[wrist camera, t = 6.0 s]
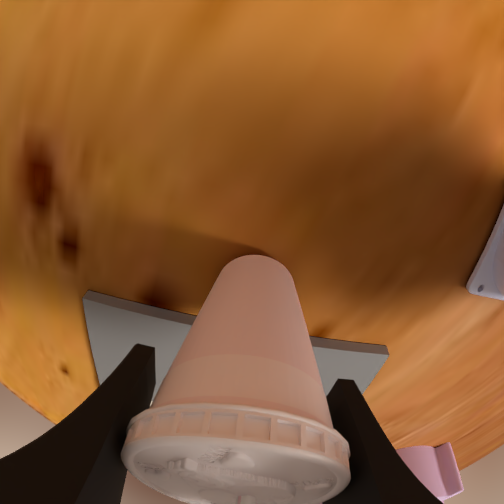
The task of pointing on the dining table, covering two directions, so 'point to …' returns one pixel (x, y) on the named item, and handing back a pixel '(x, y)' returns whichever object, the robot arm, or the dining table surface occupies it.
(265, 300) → the smoothie
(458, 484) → the clip
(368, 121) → the dining table surface
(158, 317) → the board
